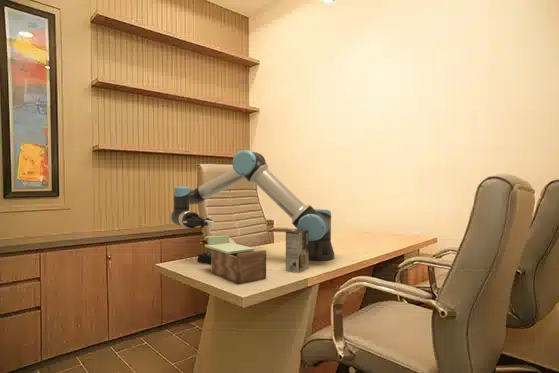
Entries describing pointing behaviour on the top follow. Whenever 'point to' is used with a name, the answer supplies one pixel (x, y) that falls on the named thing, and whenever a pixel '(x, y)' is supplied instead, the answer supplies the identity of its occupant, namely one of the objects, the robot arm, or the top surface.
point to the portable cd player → (205, 258)
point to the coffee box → (297, 250)
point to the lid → (226, 245)
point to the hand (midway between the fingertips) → (212, 224)
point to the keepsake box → (239, 266)
